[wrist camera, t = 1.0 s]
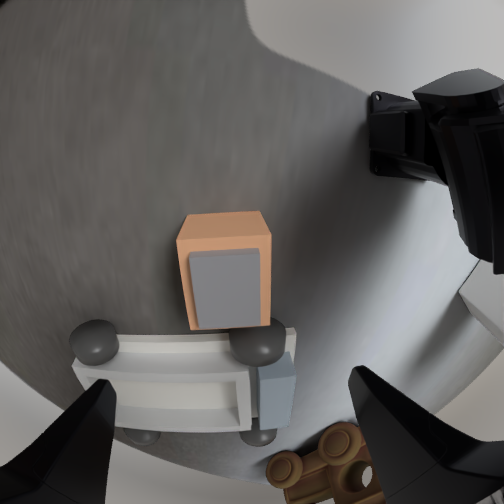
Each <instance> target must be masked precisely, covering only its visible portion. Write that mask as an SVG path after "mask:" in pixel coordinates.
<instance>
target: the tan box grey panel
mask: <svg viewBox="0 0 504 504" xmlns="http://www.w3.org/2000/svg"><path fill="white" fill-rule="evenodd" d="M176 243H177V250H178V258H179V265H180V271H181V278H182V284H183V291H184V297H185V302H186V308H187V314H188V319H189V324H190V330H207V329H226V328H242V327H255V326H267V325H270V304H271V233H270V231H269V229H268V227H267V225H266V223H265V221H264V219H263V217H262V215H261V213H260V211H247V212H228V213H211V214H195V215H187V217H186V219H185V222H184V224H183V226H182V228H181V230H180V233H179V235H178V237H177V239H176Z"/></svg>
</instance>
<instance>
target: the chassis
mask: <svg viewBox="0 0 504 504" xmlns="http://www.w3.org/2000/svg"><path fill="white" fill-rule="evenodd" d="M296 336H297V334H296V331H295V329H294V327H292V328H285V327H284V326H283V325H282V323H280V322H279V321H278V320H276V319H274V318H271V317H270V325H267V326H255V327H242V328H230V330H229V333H218V334H194V335H117V334H116V333H115V330H114V327H113V325H112V324H111V323H110V322H108V321H105V320H91V321H88V322H85V323H83V324H81V325H79V326H78V327H77V328H76V329H75V330H74V331H73V332H72V333H71V335H70V339H69V342H70V345H71V347H72V349H73V351H74V353H75V355H76V358H75V360H74V362H73V364H72V368H73V370H74V371H75V373H76V376H77V378H78V379H79V381H80V383H81V384H82V386H83V387H84V389H85V390H87V389H88V388H89V387H90V386H91V385H92V384H93V383H94V382H95V381H96V380H98V379H108V380H109V381H110V382H111V384H112V386H113V388H114V390H115V391H116V394H117V402H116V414H115V426H118V427H123V428H124V431H125V433H126V435H127V436H128V437H129V438H130V440H131V441H132V442H133V443H135V444H137V445H140V446H149V445H152V444H154V443H155V442H156V441H157V440H158V439H159V437H160V434H161V431H168V432H231V431H239V433H240V437H241V439H242V440H243V441H244V442H245V443H247V444H248V445H251V446H256V447H260V446H265V445H268V444H269V443H271V442H272V441H273V440H274V439H275V437H276V434H277V428H282V427H288V426H289V421H290V415H291V409H292V403H293V397H294V391H295V385H296V378H297V375H296V371H295V368H294V365H293V362H294V354H295V345H296Z"/></svg>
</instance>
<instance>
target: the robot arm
mask: <svg viewBox="0 0 504 504" xmlns="http://www.w3.org/2000/svg"><path fill="white" fill-rule="evenodd" d="M412 93H413V95H414V97H415V99H416V100H417V101H414V100H411V99H407V98H404V97H400V96H396V95H393V94H388V93H385V92H380V91H375V92H373V93H372V94H371V115H370V139H369V147H370V149H371V153H370V171H371V173H372V174H374V175H377V176H388V177H400V178H410V179H419V180H428V181H433V182H436V183H439V184H442V185H445V186H448V187H449V191H450V195H451V199H452V204H453V208H454V209H453V214H454V218H455V220H456V221H457V224H458V229H459V234H460V237H461V238H462V240H463V241H464V243H465V244H466V246H468V250H469V252H470V253H471V254H472V255H474V256H475V257H477V258H478V259H481V260H484V261H486V262H489V263H493V274H495V275H500V274H504V80H503V79H501V78H499V77H497V76H494V75H492V74H490V73H488V72H486V71H484V70H481V69H471V70H465V71H459V72H454V73H451V74H449V75H446V76H444V77H442V78H440V79H437V80H435V81H433V82H431V83H429V84H427V85H424V86H422V87H420V88H418V89H416V90H414V91H412ZM376 95H378V97H379V100H377V99H376ZM376 166H378V170H377V171H375V168H376ZM348 386H349V390H350V394H351V398H352V402H353V406H354V410H355V414H356V418H357V421H358V424H359V427H360V429H361V432H362V435H363V437H364V440H365V443H366V446H367V448H368V451H369V454H370V457H371V459H372V462H373V465H374V468H375V471H376V474H377V477H378V479H379V482H380V485H381V488H382V491H383V494H384V497H385V501H386V504H504V441H492V442H485V441H480V440H477V439H475V438H473V437H471V436H469V435H467V434H465V433H463V432H461V431H459V430H457V429H455V428H453V427H452V426H450V425H448V424H446V423H445V422H443V421H442V420H440V419H439V418H437V417H436V416H434V415H433V414H431V413H429V412H428V411H427V410H425V409H424V408H423V407H421V406H420V405H418V404H417V403H416V402H414V401H413V400H411V399H410V398H408V397H407V396H406V395H404V394H403V393H402V392H400V391H399V390H397V389H396V388H395V387H393V386H392V385H390V384H389V383H388V382H386V381H385V380H384V379H382V378H381V377H379V376H378V375H377V374H375V373H374V372H373V371H371V370H370V369H369V368H367V367H366V366H364V365H361V366H356V367H354V368H353V369H352V372H351V375H350V378H349V380H348ZM116 402H117V394H116V391H115V390H114V388H113V386H112V384H111V382H110V381H109V380H108V379H98V380H96V381H95V382H94V383H93V384H92V385H91V386H90V387H89V388H88V389H87V390H86V391H85V392H84V393H83V394H82V395H81V396H80V397H79V398H78V399H77V400H76V401H75V402H74V403H73V404H72V405H71V406H70V407H69V408H67V409H66V410H65V411H64V412H63V413H62V414H61V415H60V416H59V417H58V418H57V419H56V420H55V421H54V422H53V423H52V424H51V425H50V426H49V427H48V428H47V429H46V430H45V431H44V433H42V434H41V435H40V436H39V437H38V438H37V439H36V440H35V441H34V442H33V443H32V444H31V445H29V446H28V447H27V448H26V449H25V450H23V451H22V452H21V453H20V454H18V455H17V456H16V457H15V458H13V459H12V460H11V461H9V462H8V463H7V464H5V465H3V466H1V467H0V504H105V496H106V486H107V476H108V468H109V462H110V455H111V448H112V442H113V436H114V429H115V414H116Z"/></svg>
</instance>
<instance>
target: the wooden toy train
mask: <svg viewBox="0 0 504 504" xmlns="http://www.w3.org/2000/svg"><path fill="white" fill-rule="evenodd" d="M368 466H371V468H372V474H373V475H372V479H371V482H370V483H369V484H368V486H367V487H365V486H364V485H363V483H362V475H363V471H364V470H365V469H366V467H368ZM266 478H267V480H268V481H269V482H270V484H271V485H273V486H274V487H276V488H280V489H283V491H284V496H285V500H286V503H287V504H316V503H319V502H322V501H325V500H328V499H330V498H334V502H335V504H386V501H385V497H384V494H383V491H382V488H381V485H380V482H379V479H378V477H377V474H376V471H375V468H374V465H373V462H372V459H371V457H370V454H369V451H368V448H367V446H366V443H365V440H364V437H363V435H362V432H361V429H360V427H356V426H355V425H353V424H352V423H348V422H340V423H337V424H334V425H332V426H330V427H329V428H328V429H326V430H325V432H324V433H323V434H322V435H321V438H320V440H319V443H318V450H316V451H313V452H311V453H309V454H307V455H305V456H303V457H301V458H300V457H299V456H298V455H297V454H296V453H294V452H292V451H284V452H280V453H278V454H276V455H275V456H273V457H272V458H271V459H270V461H269V463H268V465H267V468H266Z"/></svg>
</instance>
